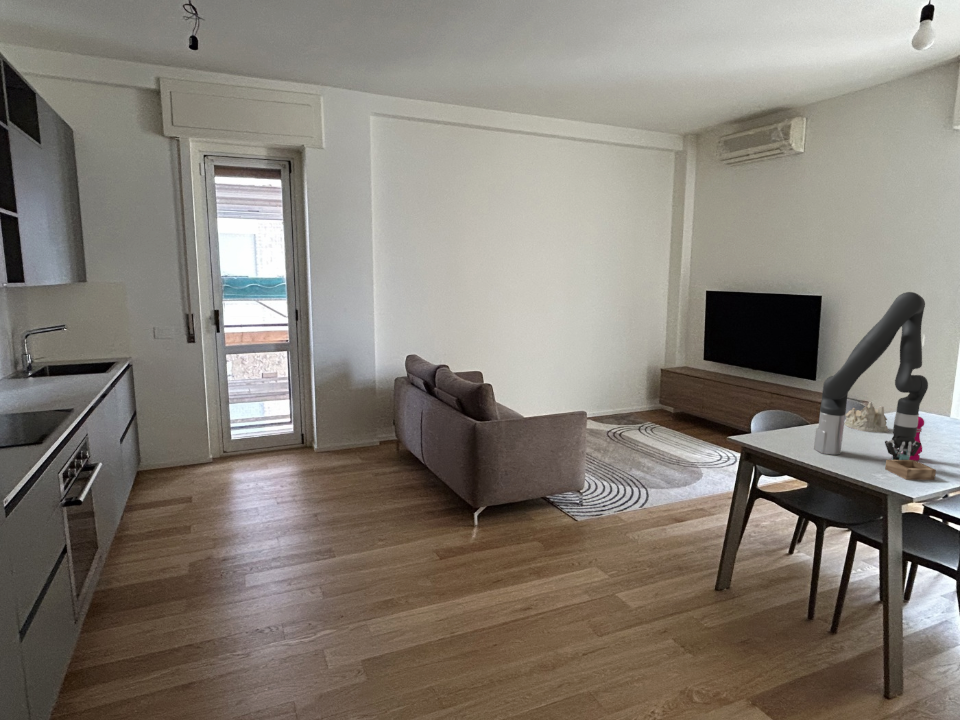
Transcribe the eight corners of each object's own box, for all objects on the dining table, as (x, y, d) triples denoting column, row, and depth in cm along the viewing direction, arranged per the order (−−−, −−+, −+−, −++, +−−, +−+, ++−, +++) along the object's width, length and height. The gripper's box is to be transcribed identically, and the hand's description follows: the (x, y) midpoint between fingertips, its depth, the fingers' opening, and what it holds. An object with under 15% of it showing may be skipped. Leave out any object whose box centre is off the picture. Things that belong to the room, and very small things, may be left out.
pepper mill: (895, 455, 243) (901, 410, 240) (911, 455, 243) (917, 410, 240) (908, 461, 236) (915, 414, 232) (925, 461, 236) (932, 414, 233)
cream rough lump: (893, 432, 277) (895, 402, 276) (860, 433, 277) (861, 402, 276) (871, 425, 293) (872, 396, 291) (839, 426, 293) (840, 397, 291)
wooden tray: (906, 479, 215) (907, 469, 214) (885, 469, 226) (886, 459, 225) (934, 479, 215) (936, 469, 215) (912, 469, 226) (913, 459, 225)
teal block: (907, 468, 227) (909, 456, 226) (900, 468, 227) (902, 456, 226) (898, 464, 232) (900, 452, 231) (891, 464, 232) (893, 452, 231)
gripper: (895, 426, 223) (889, 468, 226) (930, 426, 223) (924, 468, 226) (881, 421, 230) (876, 462, 233) (915, 421, 230) (909, 462, 233)
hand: (899, 465), depth 229 cm, fingers closed on teal block, 2 cm apart
